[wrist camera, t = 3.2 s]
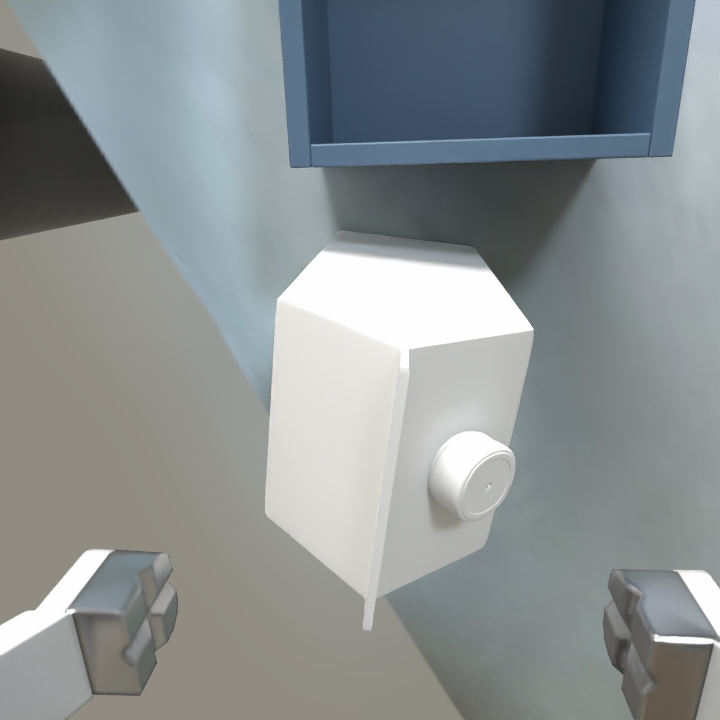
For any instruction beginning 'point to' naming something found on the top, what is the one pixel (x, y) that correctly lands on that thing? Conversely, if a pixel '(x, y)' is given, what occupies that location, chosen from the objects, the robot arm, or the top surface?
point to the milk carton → (393, 408)
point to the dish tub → (481, 79)
